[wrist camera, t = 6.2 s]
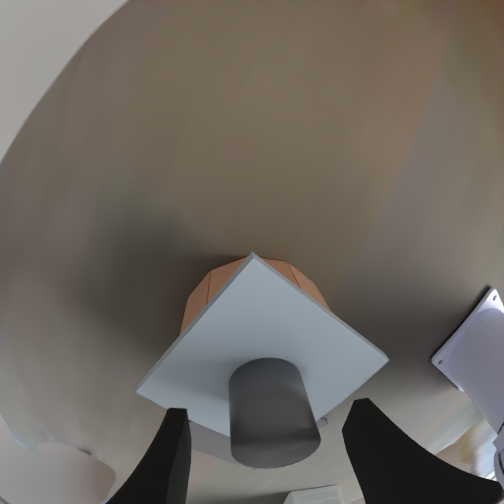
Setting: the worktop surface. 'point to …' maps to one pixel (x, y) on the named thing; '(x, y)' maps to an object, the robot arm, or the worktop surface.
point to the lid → (262, 367)
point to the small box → (316, 496)
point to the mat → (219, 441)
